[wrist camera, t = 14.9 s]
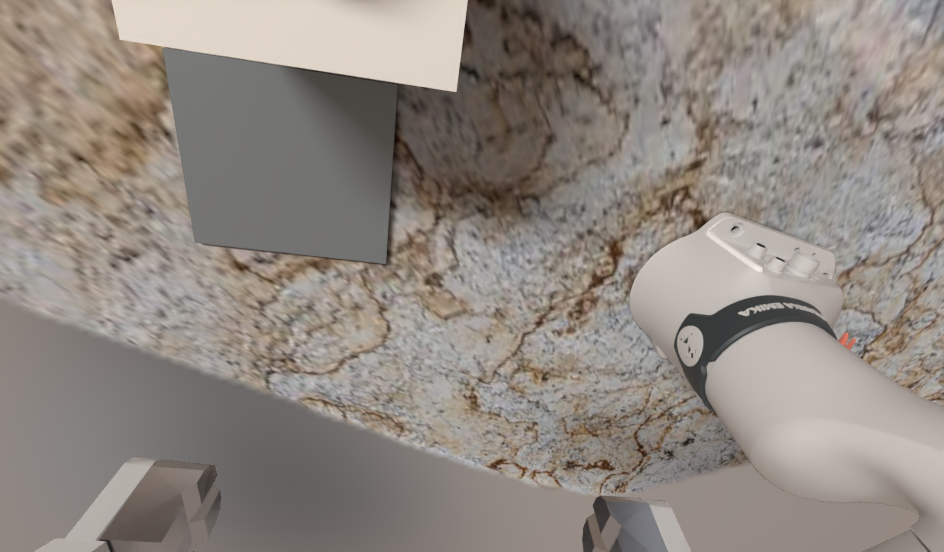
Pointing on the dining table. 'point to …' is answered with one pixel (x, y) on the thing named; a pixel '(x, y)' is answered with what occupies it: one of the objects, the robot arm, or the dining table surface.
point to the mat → (284, 156)
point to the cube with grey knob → (312, 34)
